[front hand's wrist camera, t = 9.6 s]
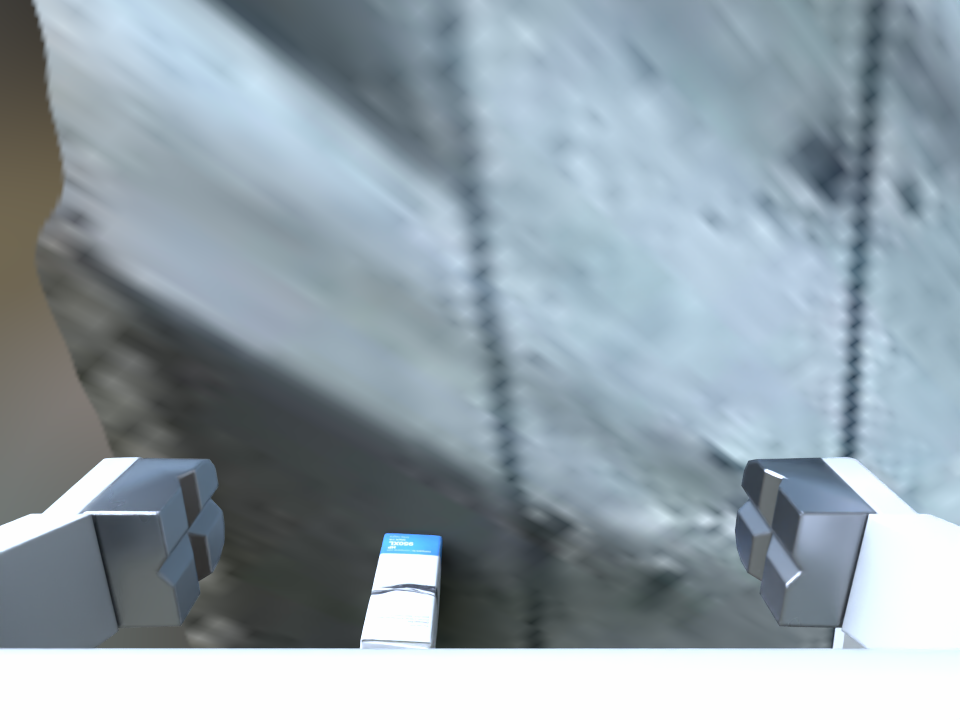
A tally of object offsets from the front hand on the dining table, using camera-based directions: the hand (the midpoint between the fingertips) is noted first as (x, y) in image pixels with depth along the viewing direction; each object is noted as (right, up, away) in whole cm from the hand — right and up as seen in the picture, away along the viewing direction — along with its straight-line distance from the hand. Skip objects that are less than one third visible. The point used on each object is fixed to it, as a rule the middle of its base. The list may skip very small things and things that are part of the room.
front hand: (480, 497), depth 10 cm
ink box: (-6, -16, +45) cm, 48 cm away
